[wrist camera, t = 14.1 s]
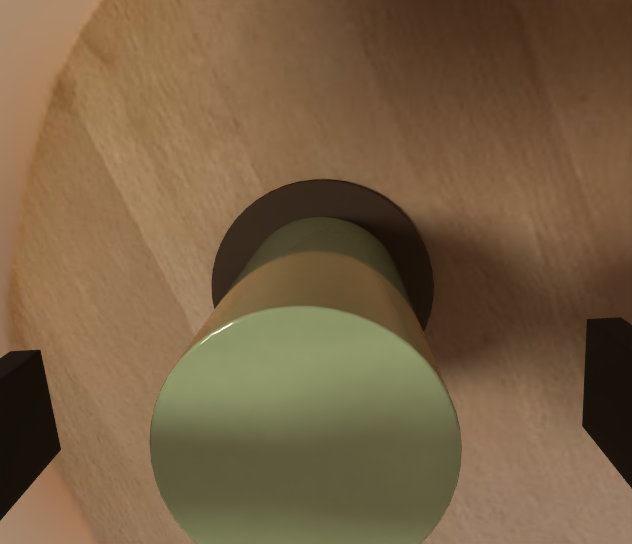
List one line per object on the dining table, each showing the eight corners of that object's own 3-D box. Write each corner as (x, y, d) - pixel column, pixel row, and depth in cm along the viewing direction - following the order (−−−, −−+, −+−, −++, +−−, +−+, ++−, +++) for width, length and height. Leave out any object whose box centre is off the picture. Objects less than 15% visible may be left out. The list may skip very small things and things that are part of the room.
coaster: (201, 187, 23) (198, 188, 23) (428, 171, 22) (430, 171, 22) (226, 395, 25) (224, 399, 25) (434, 384, 25) (436, 388, 24)
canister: (235, 221, 23) (126, 316, 11) (397, 211, 22) (459, 296, 11) (251, 372, 24) (170, 592, 13) (404, 364, 24) (464, 583, 12)
